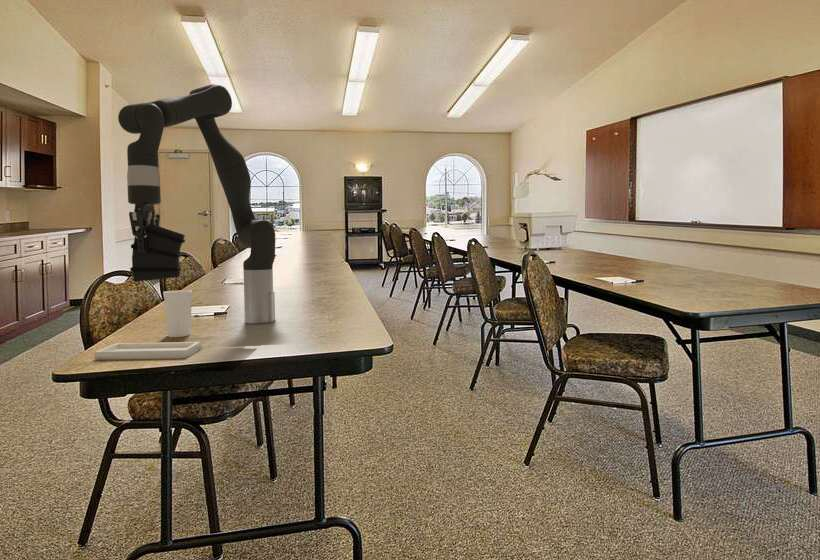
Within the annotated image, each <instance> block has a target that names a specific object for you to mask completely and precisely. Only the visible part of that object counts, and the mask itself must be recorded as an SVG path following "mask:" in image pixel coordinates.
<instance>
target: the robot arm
mask: <svg viewBox="0 0 820 560" xmlns="http://www.w3.org/2000/svg"><path fill="white" fill-rule="evenodd" d="M232 107H233V100H232V96H231V94H230V92H229V90H228V89H227V88H226V87H225V86H224V85H222V84H219V83H213V84H207V85H204V86H201V87H197V88H195V89H192V90H190V92H189V94H184V95H179V96H178V95H177V96H171V97H165V98H161V99H157V100H154V101H149V102H142V103H134V104H128V105H125V106H123V107H122V108H121V109H120V110H119V112H118V116H117V117H118V118H117V120H118V123H119V124H118V125H120V127H121V128H122V129H123V130H124V131H125V132H127V133H128V134H129V133H130V134H132V135H134V134H135V135H136V134H137V135H138V134H139V136H138V137H139V138H138V139H137V140H135V141H133V142H131V143H129V144H128V145H127V150H126V151H127V155H126V157H127V171H126V172H127V173H126V181H127V182H126V184H127V202H128V204H131V205H134V210H133V211H129V212H128V217H129V222H130V228H131V233H132V236H134V237H135V236H136V238H138V239H137V243H138V253H140V254H141V253H148V240H147V239H146V238H147V236H148V229H150V224H153V225H157V226H160V220H161V216H160V214H158V213H157V212H156V209H155V205H160V204H162V203H161V202H162V200H161V175H160V170H159V149H160V145H161V141H162V138H163V137H162V136H163V133H164V132H163V131H164V128H168V127H169V128H170V127H173V126H176V125H179V124H183V123H186V122H187V121H191V120H194V119H195V122H196V125H197V126H198V128H199V130H200V132H201V134H202V136H203V139H204V142H205V143H206V146H207V149H208V151H209V153H210V154H209V155H210V157H211V159H212V161H213V164H214V167H215V171H216V173H217V176H218V179H219V182H220V184H221V186H222V189H223V193H224V195H225V197H226V201H227V204H228V206H229V209H230V212H231V217H232V220H233V225H234V228H235V231H236V235H237V239H238V241H239V242H240V244H241V245H242V246H243V247H245V248H248V249H250V254H249V256H248V258H246V259H245V260H243V263H242V264H243V265H242V267H243V271H242V273H243V302H244V303H243V304H244V305H243V306H244V307H243V308H244V323H245V324H268V323H269V324H270V323H274V321H275V320H276V304H275V303H276V299H275V297H276V296H275V295H276V294H275V291H274V275H273V271H274V270H273V267H274V262H275V259H276V231H275V228H274V225H273V223H272V222H270V221H268V220H266V219H256V217H255V215H254V211H253V209H252V206H251V201H250V200H251V199H250V196H251V187H252V185H251V175H250V172H249V169H248V165H247V163H246V159H245V157H244V156H243V154H242V153H241V152H240V151H239V150H238V149H237V148H236V147H235V146H234V145H233V144H232V143H231V142H230V141H229V140H228V139H227V138H226V137H225V136H224V135H223V134H222V132H221V131H220V129H219V127H218V125H217V122H216V119H215V118H219V117H223V116H225V115H227V114H228V113H230V111H231V109H232ZM156 213H157V214H156Z"/></svg>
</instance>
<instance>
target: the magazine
mask: <svg viewBox="0 0 820 560" xmlns="http://www.w3.org/2000/svg"><path fill="white" fill-rule="evenodd" d="M137 239H138V238H136V236H134V240H133V243H132V244H130V248H131V249H132V254H131V265H132V266H131V267H130V268H129V269H130V273H132V277H133V282H144V281H154V280H155V281H156V280H164V279H172V278H173V279H174V278H179V277H180V276H181V271H182V267H180V258H181V257H182V254H181V248H182V245H183V243H184V244H185V242H186V239H185V234H183V233H180V232H178V231H174V230H171V229H167V228H165V227H162V226H160V225H159V226H157V225H153V224H150V229H148V236H147V238H146V239H147V240H148V253H141V254H140V253H138V243H137Z"/></svg>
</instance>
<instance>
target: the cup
mask: <svg viewBox="0 0 820 560" xmlns="http://www.w3.org/2000/svg"><path fill="white" fill-rule="evenodd" d="M162 294H163V299H164V309H165V319H166V330H167V331H166V332H167V333H166V334H167V337H169V338H181V337H186V336H190V335H191V334H192V302H193V301H192V296H193V290H188V289H184V290H183V289H182V290H178V289H176V290H167V291H163V292H162Z"/></svg>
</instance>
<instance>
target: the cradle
mask: <svg viewBox="0 0 820 560" xmlns="http://www.w3.org/2000/svg"><path fill="white" fill-rule="evenodd" d="M200 348H201V349H202V342H201V341H177V342H176V341H175V342H172V341H171V342H169V341H167V342H166V341H165V342H164V341H163V342H124V343H123V342H120V343H119V342H117V343H114V344H111V345H108V346H106V347H103V348H101V349H98V350H96V351H94V361H106V360H107V361H109V360H110V361H113V360H117V361H119V360H157V359H158V360H161V359H163V360H165V359H166V360H167V359H188V358H190V356H192V355H195V353H197V352H199V351H200V350H201V349H200ZM199 349H200V350H199ZM198 350H199V351H198Z"/></svg>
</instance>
